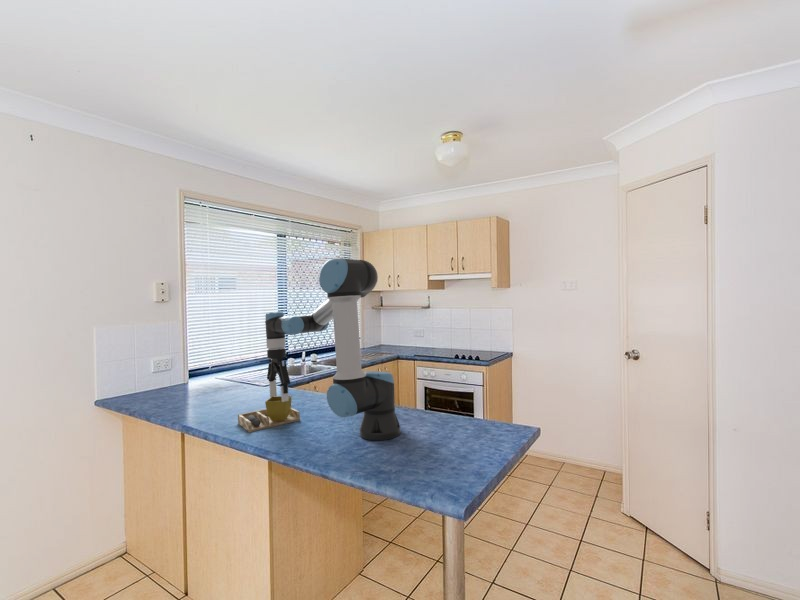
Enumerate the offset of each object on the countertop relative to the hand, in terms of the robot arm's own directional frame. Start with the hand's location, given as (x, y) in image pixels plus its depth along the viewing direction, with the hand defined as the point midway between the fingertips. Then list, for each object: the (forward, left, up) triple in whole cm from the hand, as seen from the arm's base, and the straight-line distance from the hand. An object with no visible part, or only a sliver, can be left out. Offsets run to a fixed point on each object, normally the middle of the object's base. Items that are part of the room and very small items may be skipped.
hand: (279, 398), depth 167 cm
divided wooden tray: (+3, +4, -10) cm, 11 cm away
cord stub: (+2, +10, -9) cm, 14 cm away
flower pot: (0, 0, -9) cm, 9 cm away
